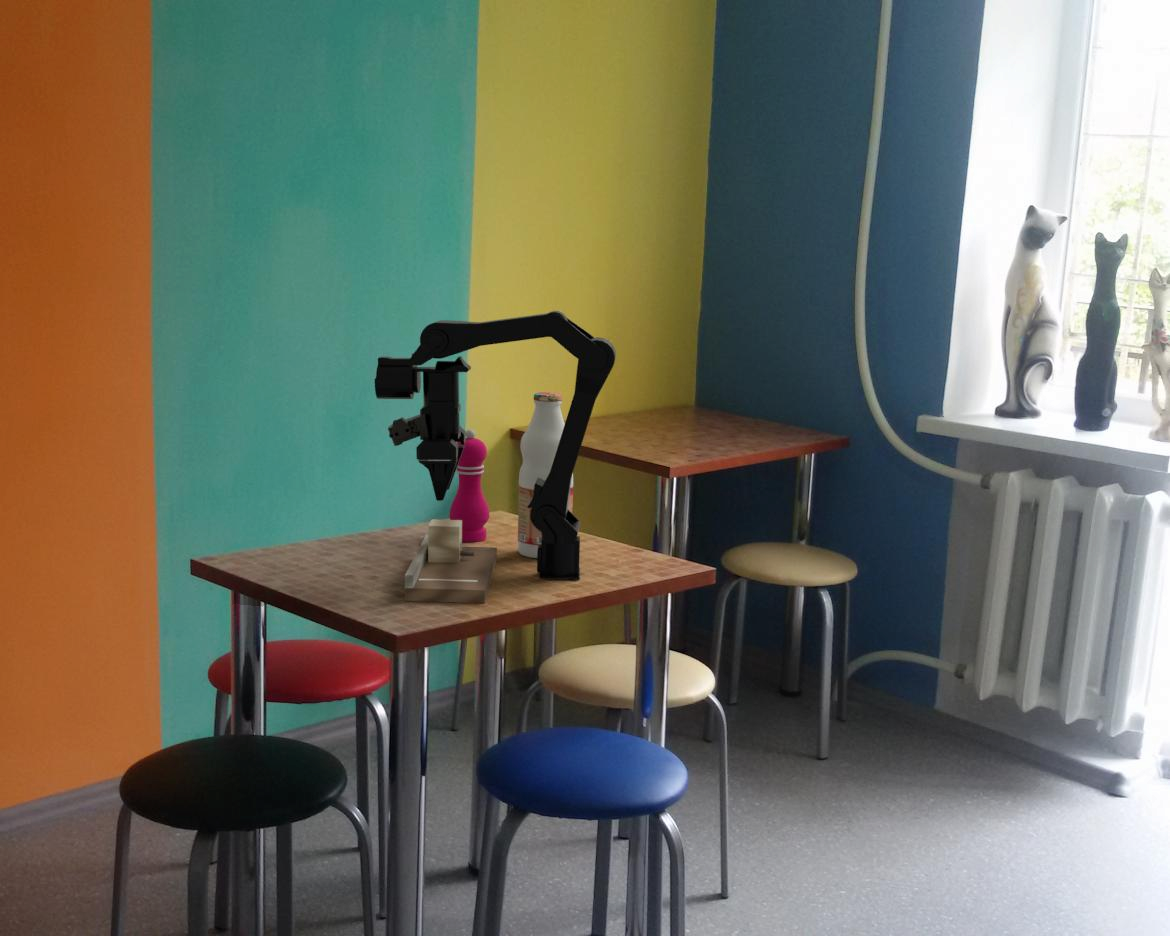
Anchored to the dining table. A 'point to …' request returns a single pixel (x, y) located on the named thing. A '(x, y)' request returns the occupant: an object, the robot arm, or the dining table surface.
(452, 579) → the walnut board
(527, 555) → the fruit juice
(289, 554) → the dining table surface
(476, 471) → the pepper mill
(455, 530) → the beige block
